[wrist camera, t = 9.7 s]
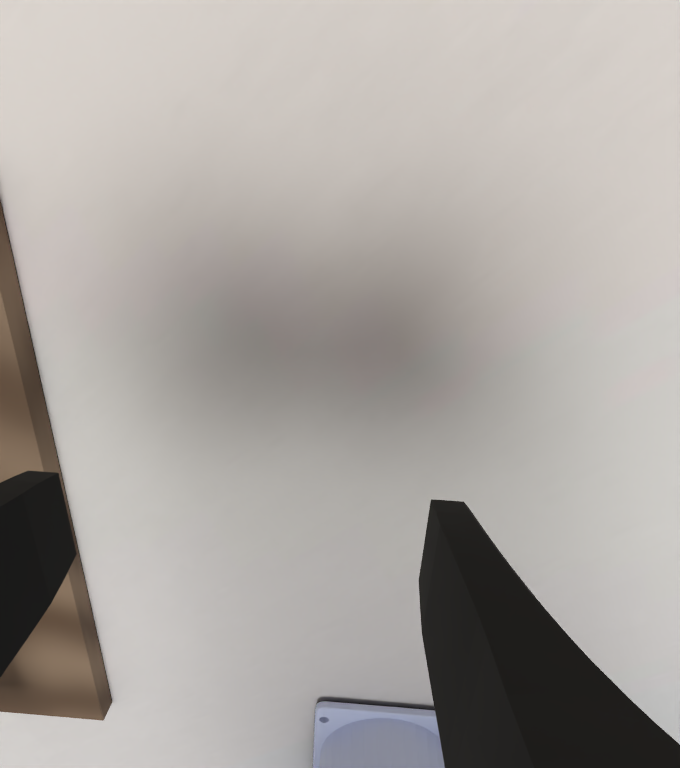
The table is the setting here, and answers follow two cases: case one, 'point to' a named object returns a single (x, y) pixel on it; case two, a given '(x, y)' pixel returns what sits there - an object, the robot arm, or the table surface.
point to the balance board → (71, 604)
